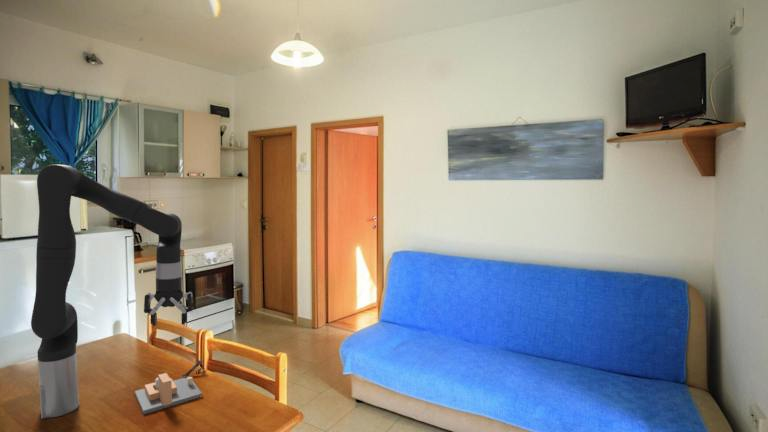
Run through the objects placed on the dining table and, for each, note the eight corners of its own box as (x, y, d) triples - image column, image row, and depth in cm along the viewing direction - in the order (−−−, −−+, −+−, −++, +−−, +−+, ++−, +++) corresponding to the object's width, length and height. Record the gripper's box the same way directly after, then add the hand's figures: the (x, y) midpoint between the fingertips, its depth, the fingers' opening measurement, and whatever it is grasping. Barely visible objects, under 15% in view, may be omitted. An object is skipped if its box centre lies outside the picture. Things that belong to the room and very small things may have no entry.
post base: (143, 414, 128) (142, 395, 127) (134, 394, 140) (134, 377, 139) (202, 396, 139) (201, 379, 138) (189, 379, 150) (189, 363, 150)
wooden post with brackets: (207, 367, 158) (202, 358, 156) (189, 383, 152) (184, 374, 150) (204, 366, 159) (199, 357, 157) (186, 382, 153) (181, 373, 151)
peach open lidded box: (144, 390, 139) (143, 368, 138) (171, 383, 144) (170, 362, 143) (153, 409, 128) (152, 385, 128) (181, 400, 133) (181, 377, 133)
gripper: (140, 278, 131) (141, 329, 132) (190, 277, 134) (190, 327, 136) (148, 273, 138) (148, 321, 140) (194, 272, 142) (195, 319, 143)
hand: (169, 324), depth 138 cm, fingers open, 8 cm apart
